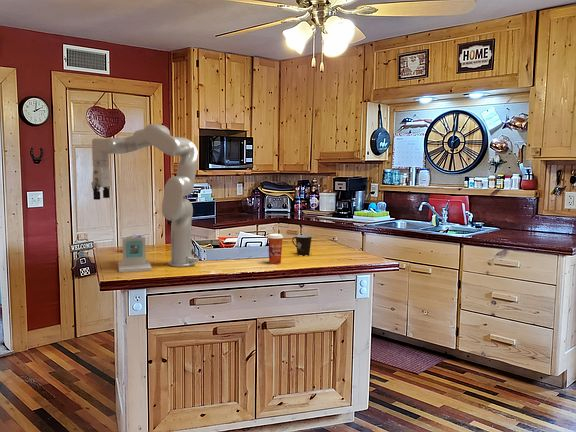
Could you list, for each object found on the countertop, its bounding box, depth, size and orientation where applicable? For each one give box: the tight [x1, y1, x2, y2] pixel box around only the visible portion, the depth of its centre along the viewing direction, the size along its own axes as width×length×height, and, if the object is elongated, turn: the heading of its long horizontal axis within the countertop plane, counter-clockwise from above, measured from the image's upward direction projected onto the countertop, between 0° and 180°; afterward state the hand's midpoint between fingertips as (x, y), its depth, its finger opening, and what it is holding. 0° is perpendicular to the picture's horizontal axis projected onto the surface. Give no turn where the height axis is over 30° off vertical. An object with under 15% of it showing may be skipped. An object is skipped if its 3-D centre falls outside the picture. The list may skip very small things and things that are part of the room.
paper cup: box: [267, 233, 284, 265], centre depth 258 cm, size 8×8×14 cm
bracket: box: [117, 236, 153, 273], centre depth 243 cm, size 18×14×14 cm
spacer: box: [126, 241, 142, 258], centre depth 242 cm, size 2×7×7 cm, turn 109°
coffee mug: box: [291, 234, 313, 257], centre depth 281 cm, size 12×9×10 cm
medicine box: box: [126, 234, 142, 249], centre depth 281 cm, size 8×4×9 cm, turn 168°
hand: (101, 198), depth 260 cm, fingers open, 9 cm apart
